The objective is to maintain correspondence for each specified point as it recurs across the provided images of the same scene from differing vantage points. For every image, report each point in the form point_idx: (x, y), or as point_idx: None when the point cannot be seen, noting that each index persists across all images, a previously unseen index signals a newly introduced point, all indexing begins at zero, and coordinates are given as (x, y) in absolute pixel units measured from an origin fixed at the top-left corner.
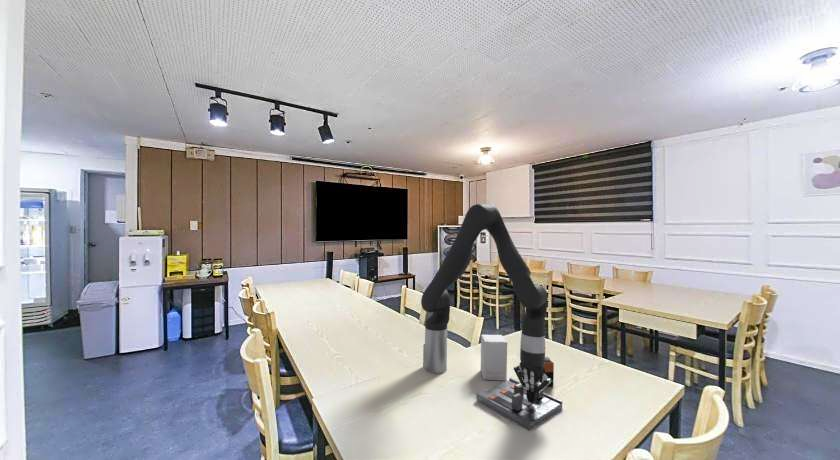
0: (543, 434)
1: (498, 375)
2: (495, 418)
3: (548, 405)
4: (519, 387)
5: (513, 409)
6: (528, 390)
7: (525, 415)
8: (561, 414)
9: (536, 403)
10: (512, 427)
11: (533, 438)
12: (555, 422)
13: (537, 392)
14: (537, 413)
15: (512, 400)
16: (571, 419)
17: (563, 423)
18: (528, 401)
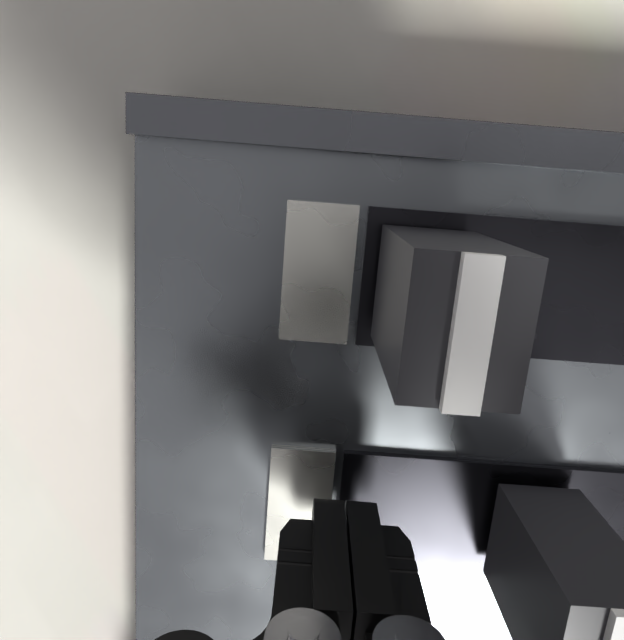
0: (28, 182)
1: None
2: (570, 16)
3: None
4: (570, 614)
5: None
6: (385, 618)
7: (272, 247)
8: (112, 630)
9: None
10: (324, 16)
11: (51, 18)
12: (73, 471)
13: (180, 631)
14: (196, 400)
15: (500, 243)
16: (10, 621)
17: (17, 511)
18: (364, 502)
